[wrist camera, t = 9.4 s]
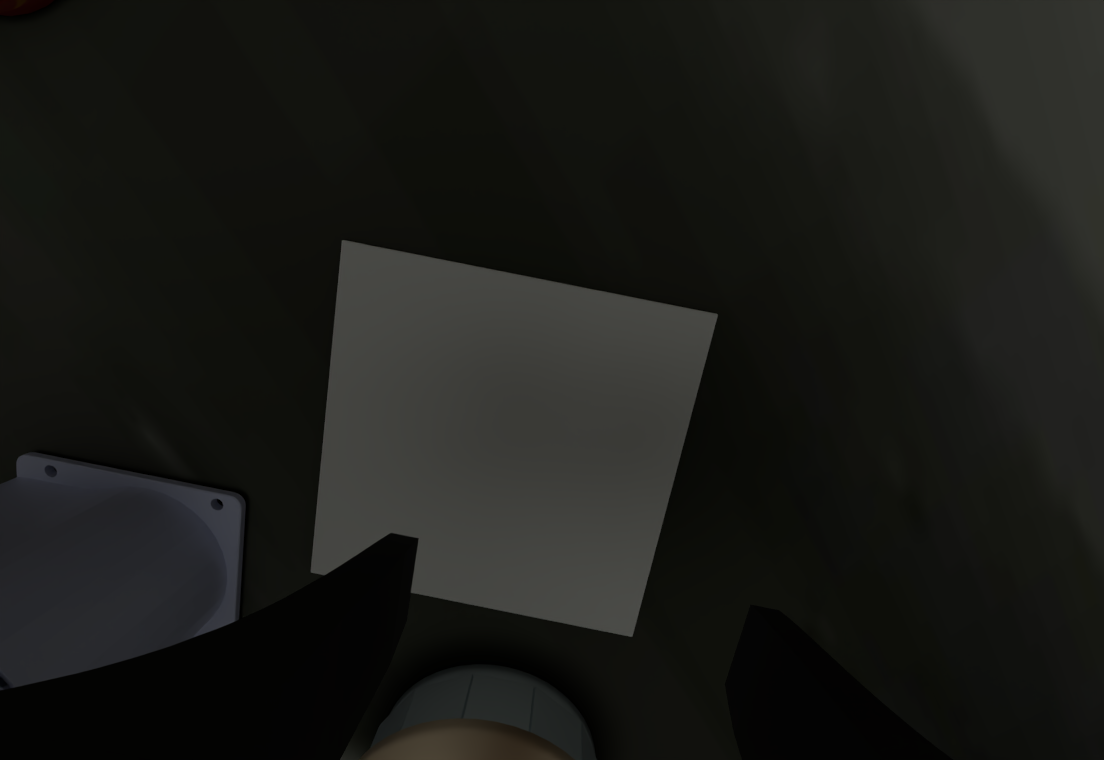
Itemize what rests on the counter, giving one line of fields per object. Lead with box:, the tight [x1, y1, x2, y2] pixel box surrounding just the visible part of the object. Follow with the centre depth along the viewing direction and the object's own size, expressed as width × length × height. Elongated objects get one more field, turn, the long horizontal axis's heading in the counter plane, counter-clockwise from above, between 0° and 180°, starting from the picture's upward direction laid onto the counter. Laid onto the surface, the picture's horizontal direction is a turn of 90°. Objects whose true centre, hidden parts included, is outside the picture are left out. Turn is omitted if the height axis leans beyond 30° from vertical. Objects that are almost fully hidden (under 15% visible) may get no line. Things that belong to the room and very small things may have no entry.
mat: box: [311, 240, 718, 637], centre depth 22 cm, size 14×14×1 cm
